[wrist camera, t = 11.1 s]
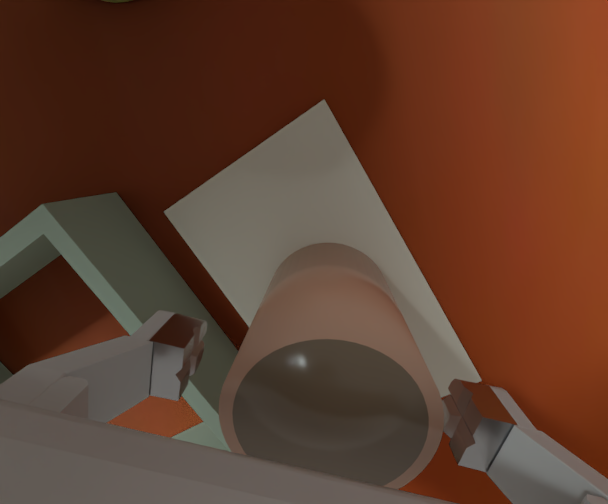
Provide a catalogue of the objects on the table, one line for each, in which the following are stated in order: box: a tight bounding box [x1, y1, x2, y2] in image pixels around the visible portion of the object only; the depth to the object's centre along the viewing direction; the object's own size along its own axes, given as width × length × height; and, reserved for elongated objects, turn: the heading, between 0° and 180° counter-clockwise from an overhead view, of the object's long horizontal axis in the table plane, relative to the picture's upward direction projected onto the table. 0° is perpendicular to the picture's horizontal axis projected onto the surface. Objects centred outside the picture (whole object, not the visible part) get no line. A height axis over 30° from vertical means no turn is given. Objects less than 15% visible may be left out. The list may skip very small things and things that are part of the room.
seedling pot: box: [219, 243, 444, 489], centre depth 12 cm, size 6×6×8 cm
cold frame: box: [0, 192, 238, 452], centre depth 16 cm, size 14×14×4 cm
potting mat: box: [164, 99, 482, 398], centre depth 15 cm, size 16×9×1 cm, turn 32°
